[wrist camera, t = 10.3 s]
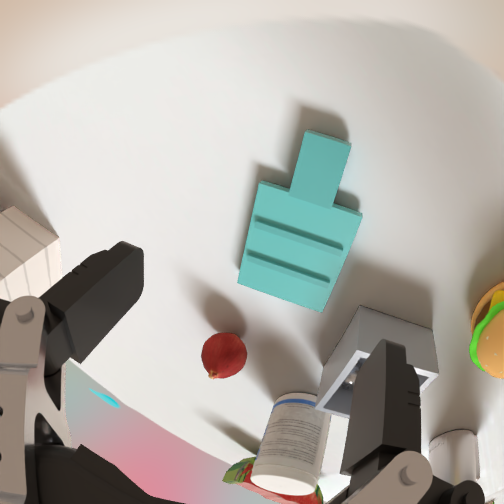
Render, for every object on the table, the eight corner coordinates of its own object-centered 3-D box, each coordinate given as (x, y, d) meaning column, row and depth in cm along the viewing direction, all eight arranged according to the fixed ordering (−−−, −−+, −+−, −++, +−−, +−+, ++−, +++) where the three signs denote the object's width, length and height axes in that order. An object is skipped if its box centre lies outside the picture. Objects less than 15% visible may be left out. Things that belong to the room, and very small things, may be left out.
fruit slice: (236, 445, 61) (220, 481, 53) (252, 441, 58) (237, 480, 50) (313, 484, 64) (304, 516, 56) (331, 481, 61) (323, 515, 52)
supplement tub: (264, 395, 47) (234, 472, 35) (315, 384, 43) (292, 473, 30) (295, 424, 50) (272, 496, 38) (343, 416, 45) (326, 496, 33)
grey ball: (365, 362, 37) (364, 380, 34) (356, 374, 38) (354, 392, 36) (346, 356, 37) (343, 373, 35) (337, 368, 39) (334, 386, 36)
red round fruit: (257, 352, 43) (238, 397, 36) (219, 347, 45) (196, 389, 38) (250, 321, 40) (228, 367, 33) (210, 317, 42) (184, 359, 35)
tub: (432, 329, 32) (439, 374, 26) (386, 386, 39) (384, 427, 33) (360, 305, 34) (356, 349, 28) (323, 367, 40) (314, 408, 35)
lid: (382, 152, 26) (385, 158, 24) (323, 302, 35) (320, 317, 33) (277, 119, 27) (270, 122, 25) (242, 274, 37) (234, 286, 35)
